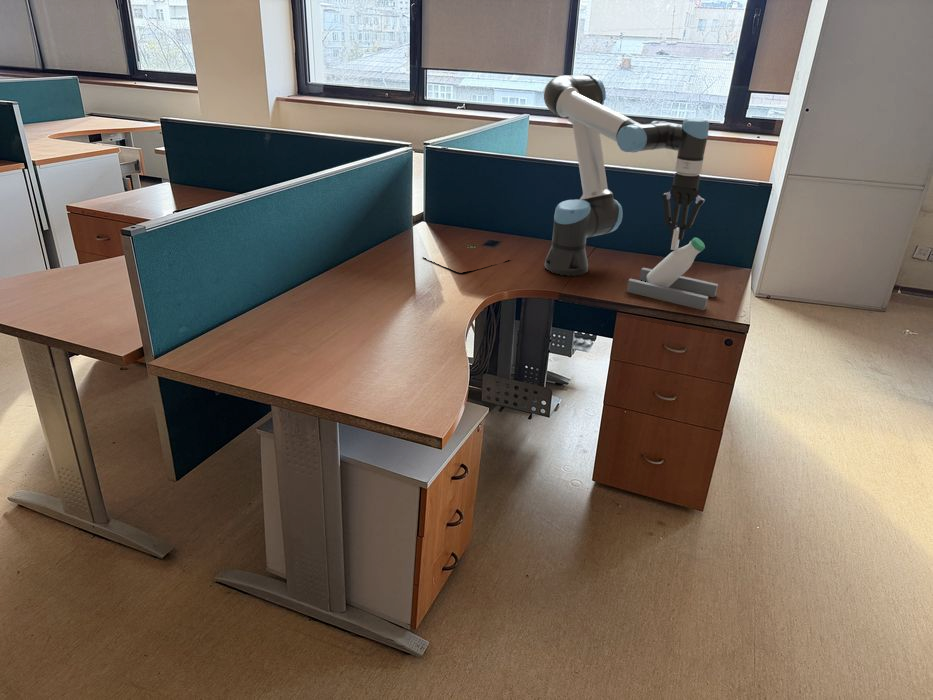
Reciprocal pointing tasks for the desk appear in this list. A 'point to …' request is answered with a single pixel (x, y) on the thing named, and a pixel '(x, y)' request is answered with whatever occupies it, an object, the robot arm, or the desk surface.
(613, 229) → the robot arm
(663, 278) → the milk bottle
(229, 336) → the desk surface
